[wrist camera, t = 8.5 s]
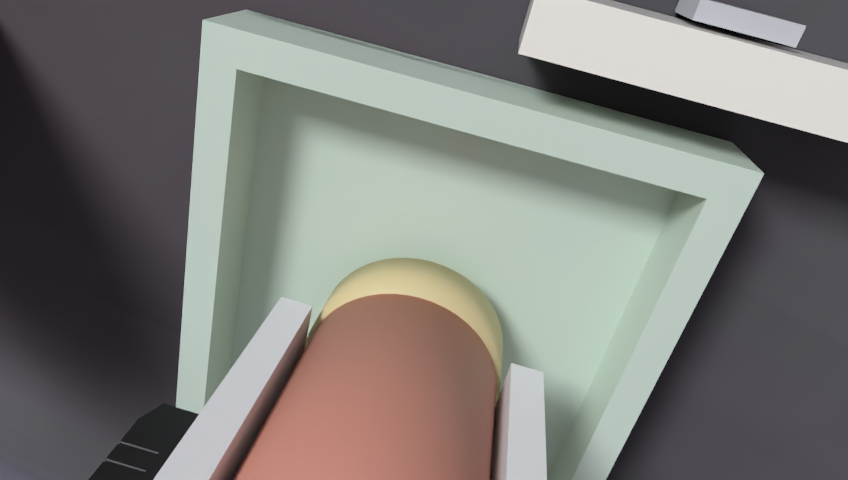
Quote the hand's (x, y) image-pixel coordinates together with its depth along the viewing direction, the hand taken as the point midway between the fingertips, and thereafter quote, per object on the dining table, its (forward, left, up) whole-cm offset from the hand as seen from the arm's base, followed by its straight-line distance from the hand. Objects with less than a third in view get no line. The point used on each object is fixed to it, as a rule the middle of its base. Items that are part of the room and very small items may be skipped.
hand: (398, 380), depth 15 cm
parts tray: (0, 0, -3) cm, 3 cm away
